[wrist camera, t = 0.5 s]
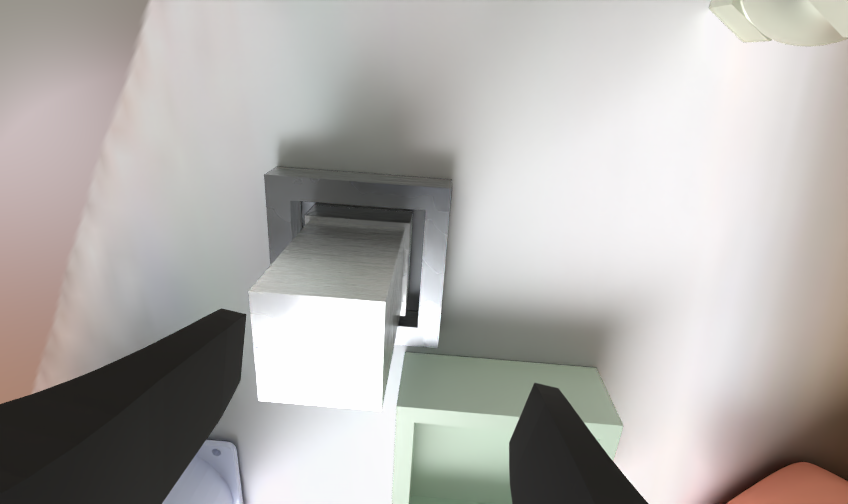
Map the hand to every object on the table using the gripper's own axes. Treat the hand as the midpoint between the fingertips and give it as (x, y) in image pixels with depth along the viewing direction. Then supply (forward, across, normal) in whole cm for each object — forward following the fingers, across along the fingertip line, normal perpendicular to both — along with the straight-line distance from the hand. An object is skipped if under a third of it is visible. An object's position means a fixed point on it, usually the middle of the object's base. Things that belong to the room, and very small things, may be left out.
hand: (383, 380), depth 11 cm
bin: (+10, -6, +10) cm, 16 cm away
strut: (+10, +2, +2) cm, 11 cm away
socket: (+10, +2, +2) cm, 11 cm away
